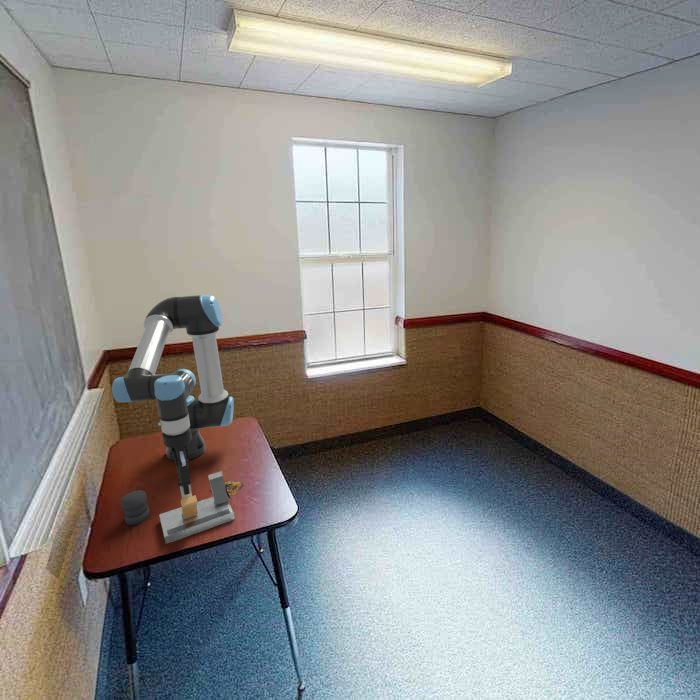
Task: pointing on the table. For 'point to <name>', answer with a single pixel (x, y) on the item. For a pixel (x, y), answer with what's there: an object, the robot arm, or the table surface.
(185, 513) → the paddle orange
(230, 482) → the butterfly model
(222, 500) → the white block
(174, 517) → the panel
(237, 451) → the table surface
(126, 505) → the grey stacked discs
